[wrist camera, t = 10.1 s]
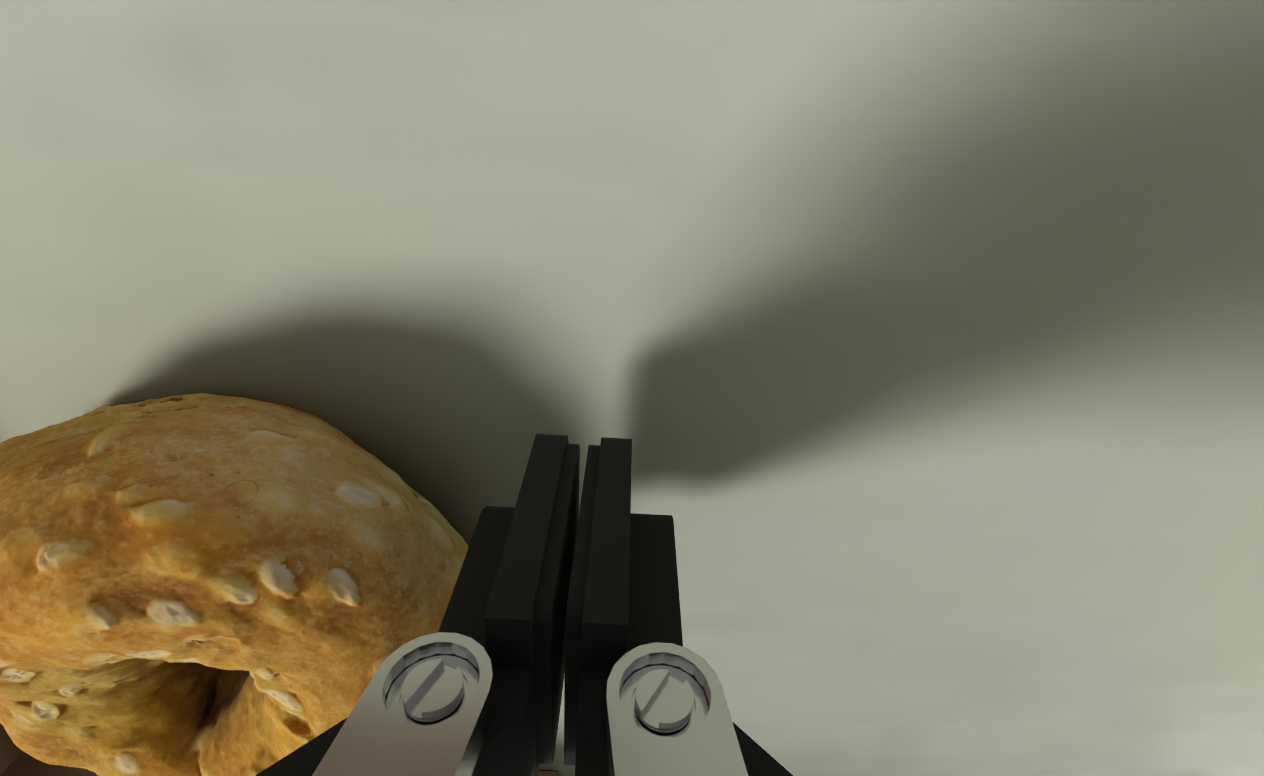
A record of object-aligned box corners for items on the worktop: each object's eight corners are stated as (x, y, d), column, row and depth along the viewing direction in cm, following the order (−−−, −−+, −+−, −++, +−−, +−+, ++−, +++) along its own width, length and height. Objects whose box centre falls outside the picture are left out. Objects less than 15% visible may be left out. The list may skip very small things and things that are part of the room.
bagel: (-37, 577, 14) (-319, 794, 10) (169, 241, 10) (-140, 358, 6) (337, 751, 17) (244, 969, 13) (591, 540, 14) (577, 749, 9)
